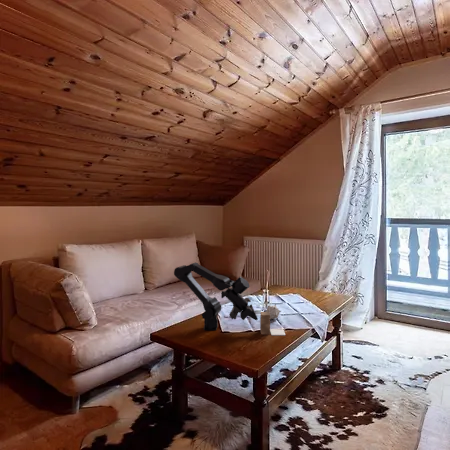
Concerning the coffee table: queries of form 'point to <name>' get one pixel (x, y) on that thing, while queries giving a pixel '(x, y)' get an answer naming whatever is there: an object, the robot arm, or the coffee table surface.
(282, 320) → the coffee table surface
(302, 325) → the coffee table surface
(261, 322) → the cardboard box
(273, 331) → the felt mat
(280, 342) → the coffee table surface
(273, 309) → the beige lumpy ball
